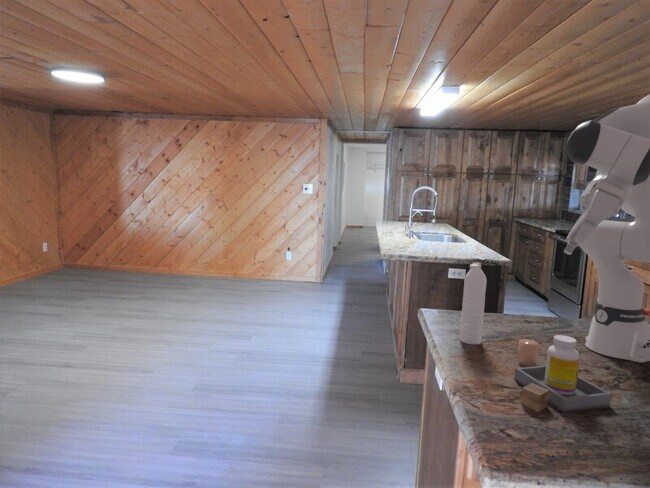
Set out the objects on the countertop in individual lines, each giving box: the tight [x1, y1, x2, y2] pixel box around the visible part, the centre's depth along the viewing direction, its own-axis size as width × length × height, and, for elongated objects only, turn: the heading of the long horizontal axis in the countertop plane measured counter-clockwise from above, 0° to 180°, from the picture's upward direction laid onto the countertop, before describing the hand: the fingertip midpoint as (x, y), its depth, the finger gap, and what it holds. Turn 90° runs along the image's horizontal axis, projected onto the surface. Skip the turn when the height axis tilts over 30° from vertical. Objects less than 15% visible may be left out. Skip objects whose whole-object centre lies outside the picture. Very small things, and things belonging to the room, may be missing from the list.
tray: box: [514, 364, 612, 413], centre depth 103 cm, size 13×16×3 cm
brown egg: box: [516, 338, 540, 367], centre depth 119 cm, size 5×5×6 cm
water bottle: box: [459, 262, 487, 345], centre depth 133 cm, size 9×6×25 cm
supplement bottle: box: [544, 334, 580, 395], centre depth 102 cm, size 7×7×13 cm
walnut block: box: [520, 383, 549, 413], centre depth 97 cm, size 4×4×4 cm
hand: (572, 247), depth 104 cm, fingers open, 8 cm apart
